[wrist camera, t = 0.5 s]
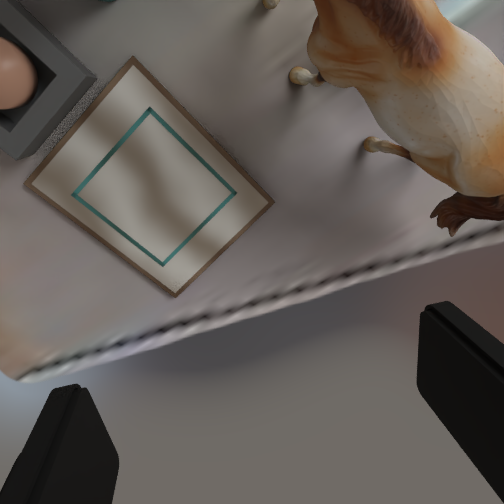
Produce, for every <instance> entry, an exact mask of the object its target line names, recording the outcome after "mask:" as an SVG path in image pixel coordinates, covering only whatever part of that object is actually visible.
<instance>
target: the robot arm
mask: <svg viewBox="0 0 504 504" xmlns="http://www.w3.org/2000/svg"><path fill="white" fill-rule="evenodd" d="M417 387H418V390H419V392H420V394H421V395H422V397H423V398H424V399H425V401H426V402H427V403H428V405H429V406H430V407H431V409H432V410H433V411H434V412H435V414H436V415H437V416H438V418H439V419H440V420H441V422H442V423H443V424H444V426H445V427H446V428H447V430H448V431H449V432H450V434H451V435H452V436H453V437H454V439H455V440H456V441H457V442H458V444H459V445H460V447H461V448H462V449H463V451H464V452H465V453H466V454H467V456H468V457H469V458H470V459H471V461H472V462H473V464H474V465H475V466H476V467H477V468H478V470H479V471H480V473H481V474H482V475H483V477H484V478H485V479H486V481H487V482H488V483H489V484H490V486H491V487H492V488H493V490H494V491H495V492H496V494H497V495H498V496H499V498H500V499H501V500H502V502H503V503H504V344H503V343H501V342H500V341H499V340H498V339H496V338H495V337H494V336H493V335H491V334H490V333H489V332H488V331H486V330H485V329H484V328H483V327H481V326H480V325H479V324H478V323H476V322H475V321H474V320H472V319H471V318H470V317H469V316H467V315H466V314H465V313H464V312H462V311H461V310H460V309H459V308H457V307H456V306H455V305H454V304H452V303H451V302H449V301H444V302H439V303H435V304H430V305H427V306H426V307H425V310H424V311H423V312H421V314H420V326H419V345H418V364H417ZM118 470H119V458H118V454H117V451H116V449H115V447H114V445H113V442H112V440H111V438H110V436H109V434H108V432H107V430H106V427H105V425H104V423H103V421H102V419H101V417H100V414H99V412H98V410H97V408H96V406H95V404H94V402H93V399H92V397H91V395H90V393H89V391H88V389H87V388H81V387H80V385H78V384H72V385H68V386H63V387H59V388H55V389H53V390H52V391H51V393H50V394H49V397H48V399H47V401H46V403H45V405H44V407H43V409H42V411H41V413H40V415H39V417H38V419H37V422H36V424H35V425H34V428H33V430H32V432H31V434H30V436H29V438H28V440H27V442H26V444H25V446H24V448H23V450H22V452H21V453H20V455H19V456H18V458H17V459H16V461H15V463H14V465H13V467H12V469H11V471H10V473H9V475H8V477H7V479H6V481H5V483H4V485H3V487H2V490H1V491H0V504H112V500H113V495H114V490H115V484H116V480H117V475H118Z"/></svg>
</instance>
